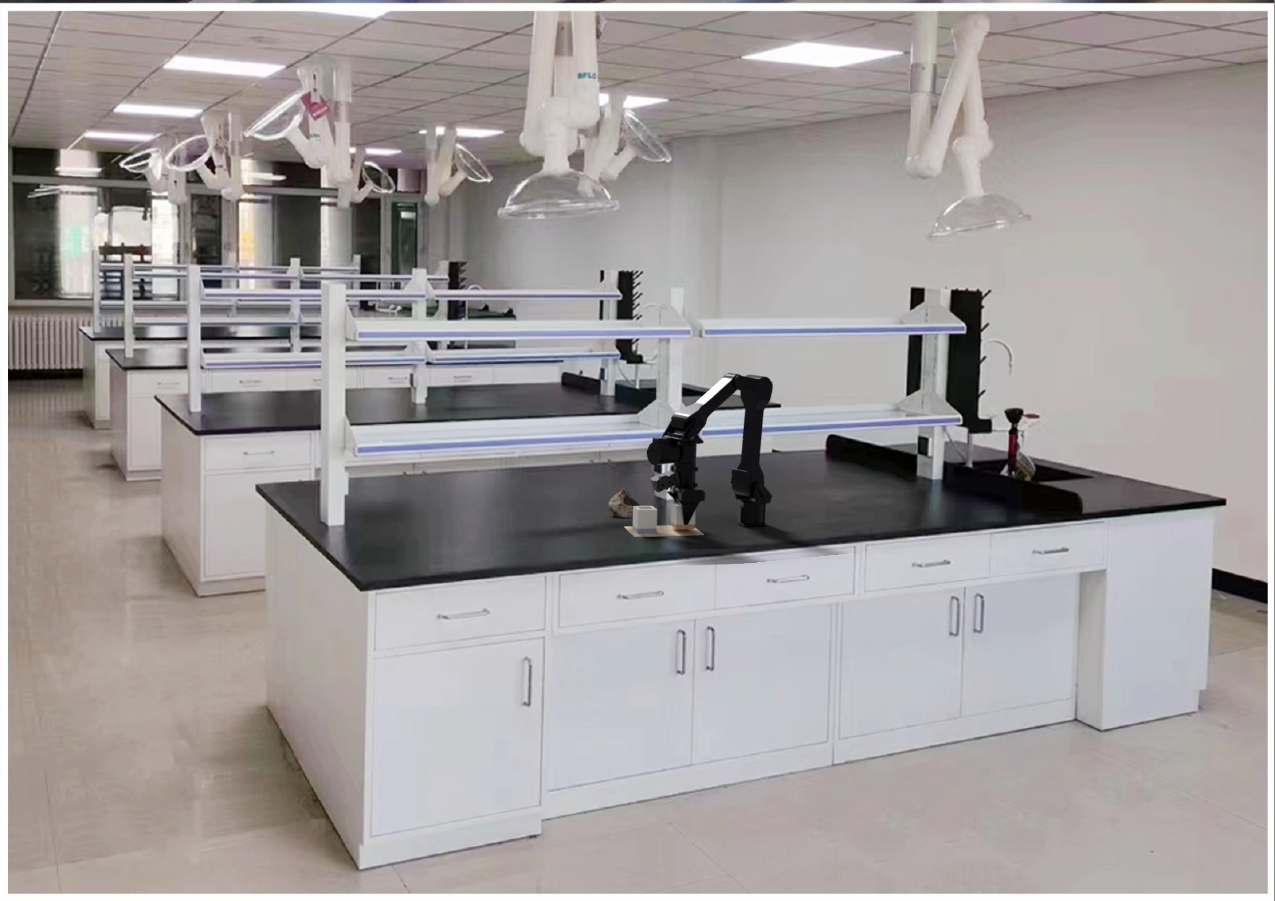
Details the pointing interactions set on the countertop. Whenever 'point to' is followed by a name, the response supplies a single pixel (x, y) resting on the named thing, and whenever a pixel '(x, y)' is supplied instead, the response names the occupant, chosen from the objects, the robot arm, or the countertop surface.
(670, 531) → the pin board
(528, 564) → the countertop surface
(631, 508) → the rock
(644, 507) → the seated sleeve
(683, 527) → the banded sleeve
